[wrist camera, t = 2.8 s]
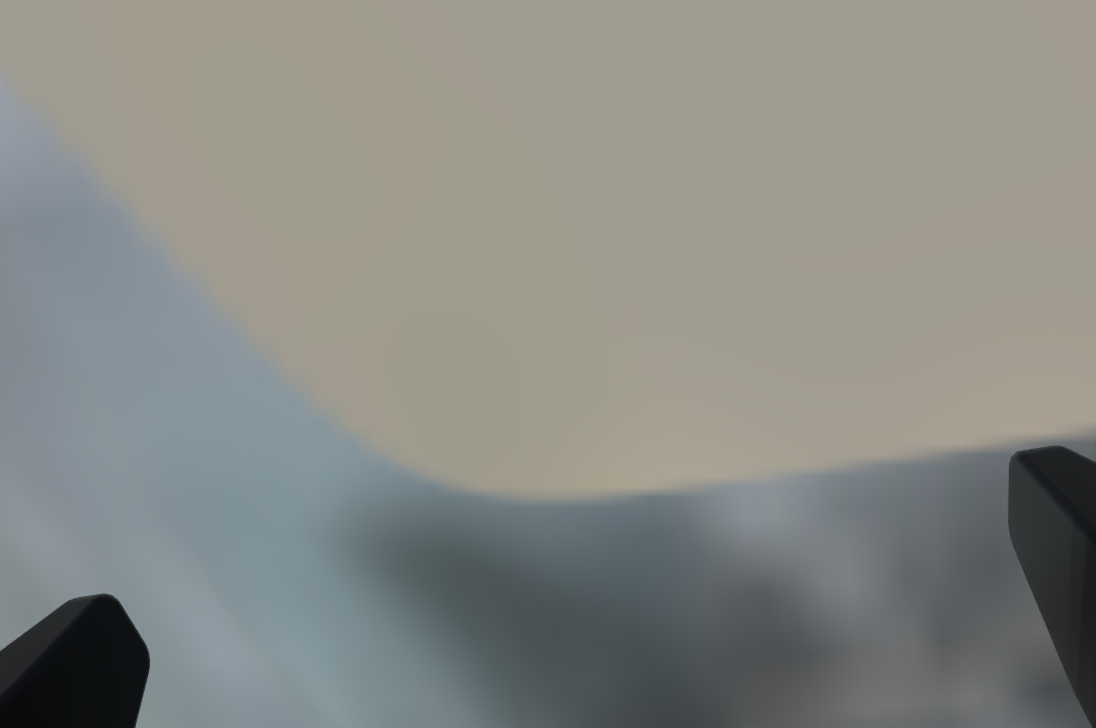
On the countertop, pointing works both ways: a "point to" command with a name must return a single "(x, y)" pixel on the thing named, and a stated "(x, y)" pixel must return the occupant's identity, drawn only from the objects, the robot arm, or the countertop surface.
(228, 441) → the countertop surface
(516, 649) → the countertop surface
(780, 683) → the countertop surface
